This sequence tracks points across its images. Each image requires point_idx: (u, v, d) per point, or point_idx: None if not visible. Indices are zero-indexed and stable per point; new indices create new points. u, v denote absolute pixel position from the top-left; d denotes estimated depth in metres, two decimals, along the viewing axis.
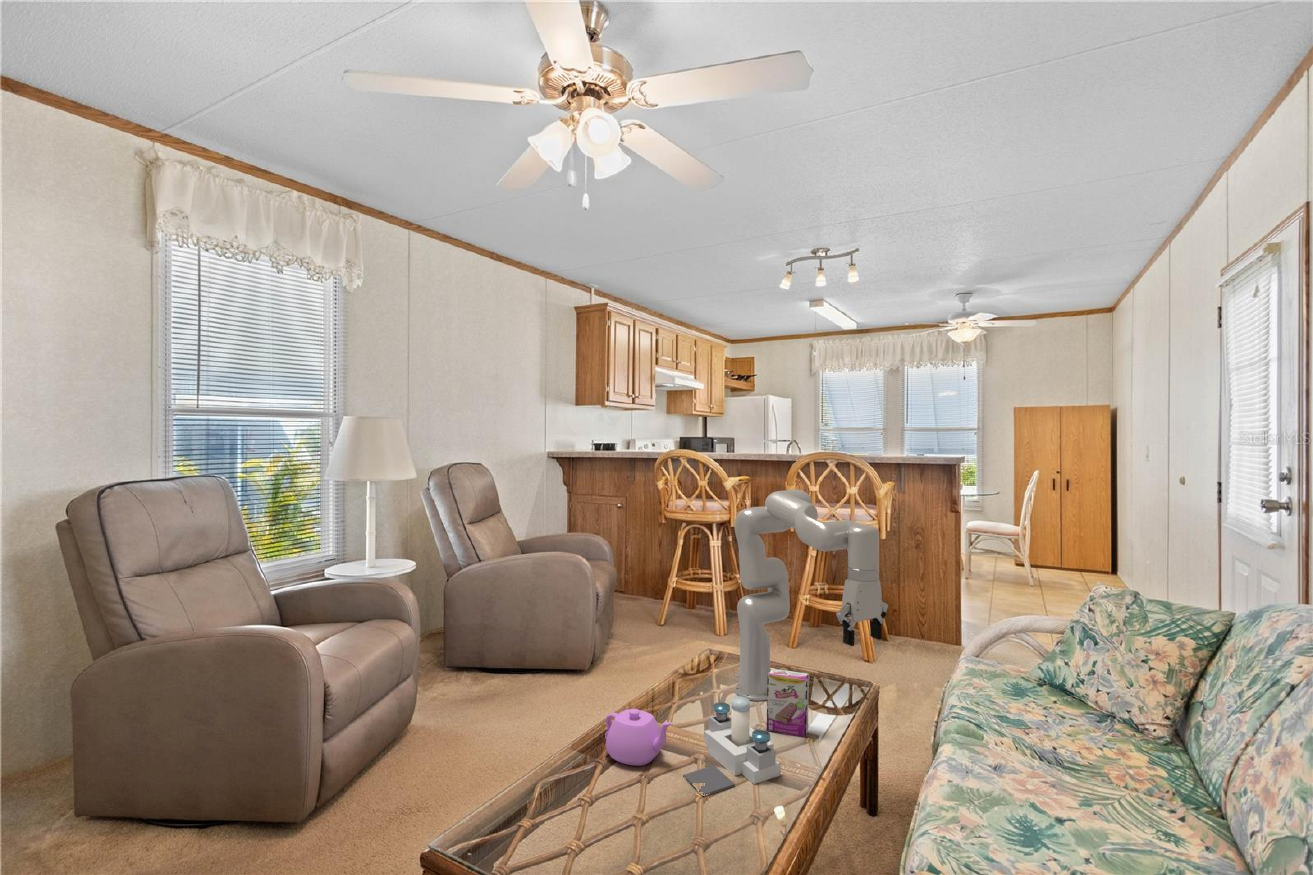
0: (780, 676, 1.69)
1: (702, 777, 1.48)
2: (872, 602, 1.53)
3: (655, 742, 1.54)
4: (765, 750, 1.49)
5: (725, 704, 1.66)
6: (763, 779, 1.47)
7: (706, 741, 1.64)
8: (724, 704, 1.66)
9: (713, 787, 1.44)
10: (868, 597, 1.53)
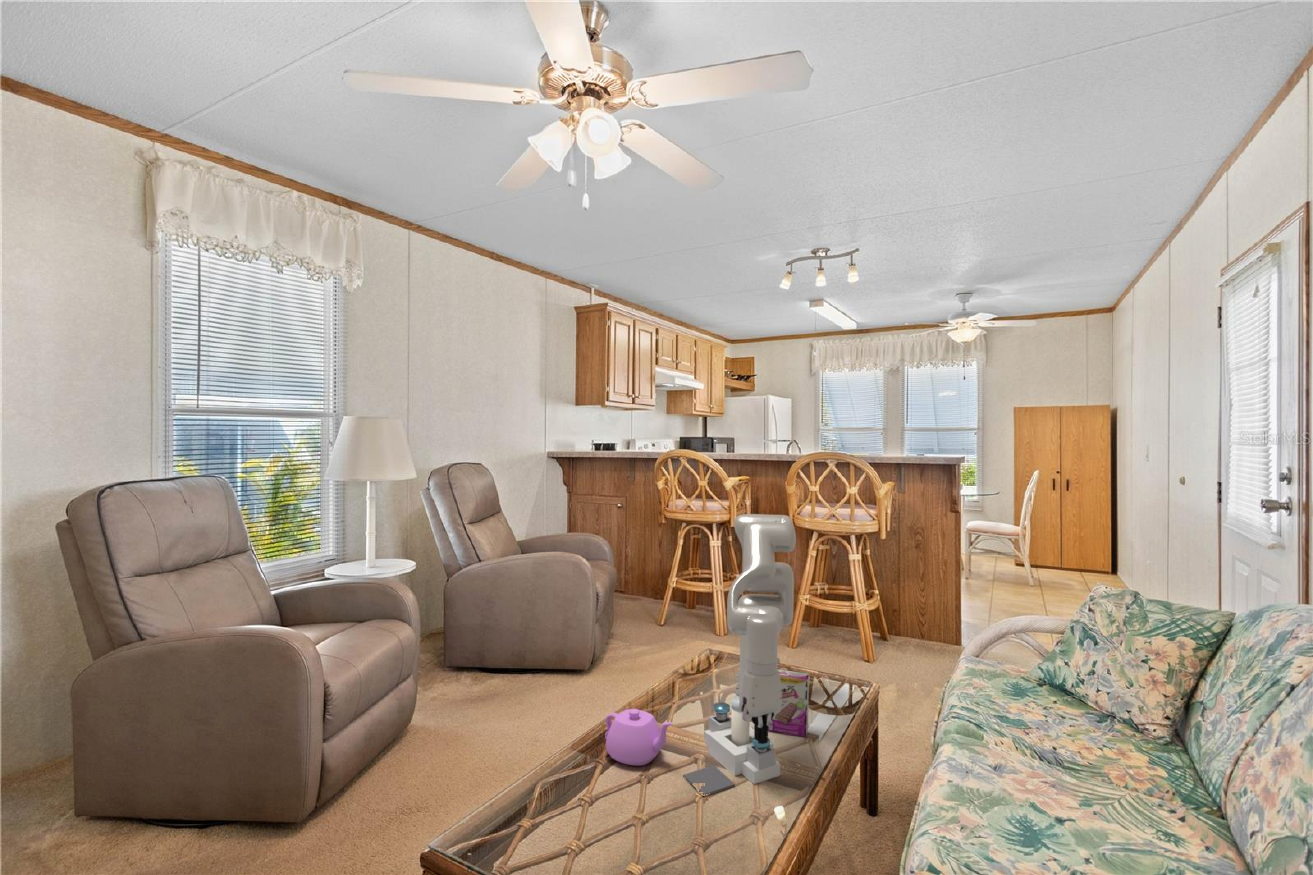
0: (780, 676, 1.69)
1: (702, 777, 1.48)
2: (770, 696, 1.48)
3: (655, 742, 1.54)
4: None
5: (725, 704, 1.66)
6: (763, 779, 1.47)
7: (706, 741, 1.64)
8: (724, 704, 1.66)
9: (713, 787, 1.44)
10: (765, 691, 1.47)
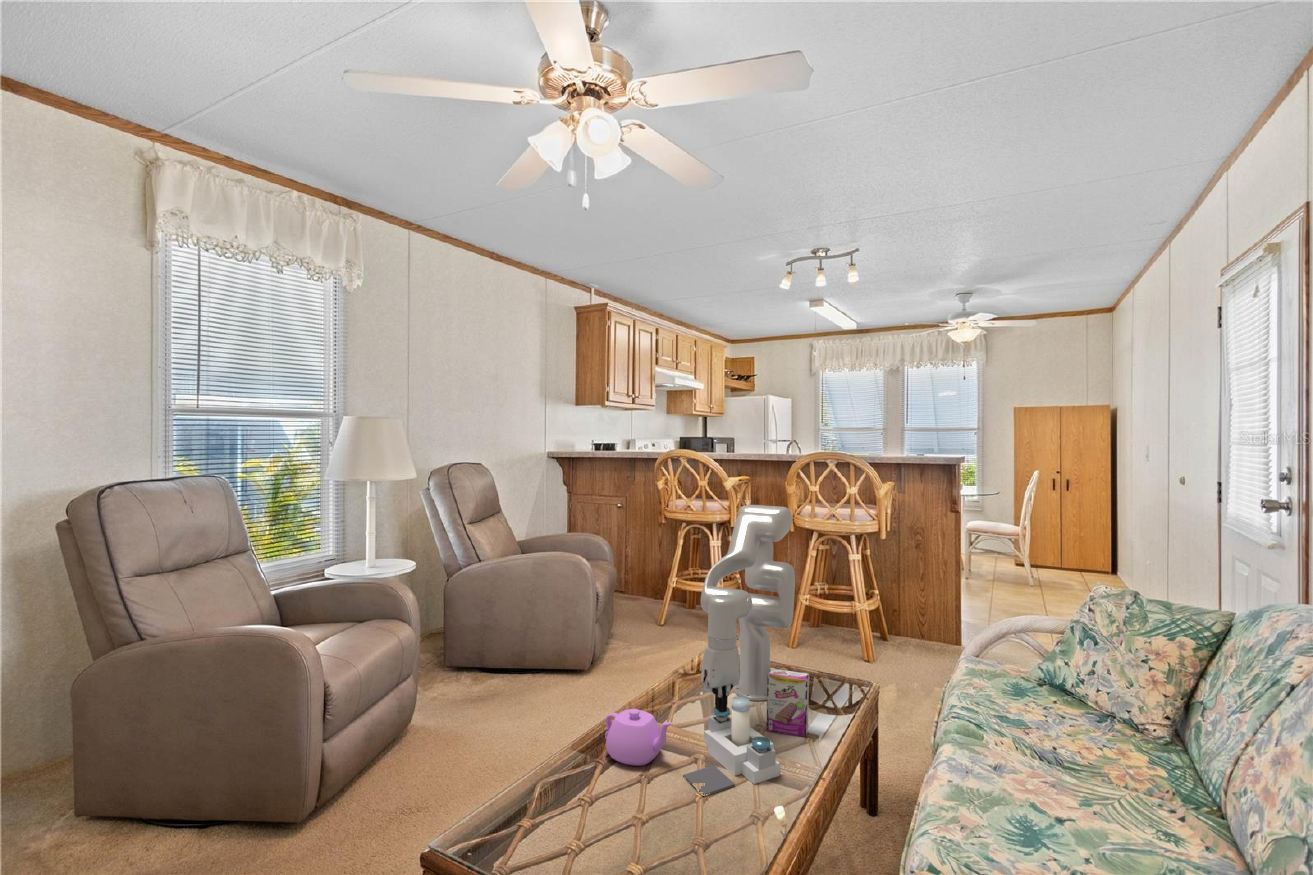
0: (780, 676, 1.69)
1: (702, 777, 1.48)
2: (729, 669, 1.62)
3: (655, 742, 1.54)
4: None
5: None
6: (763, 779, 1.47)
7: (706, 741, 1.64)
8: None
9: (713, 787, 1.44)
10: (724, 664, 1.62)
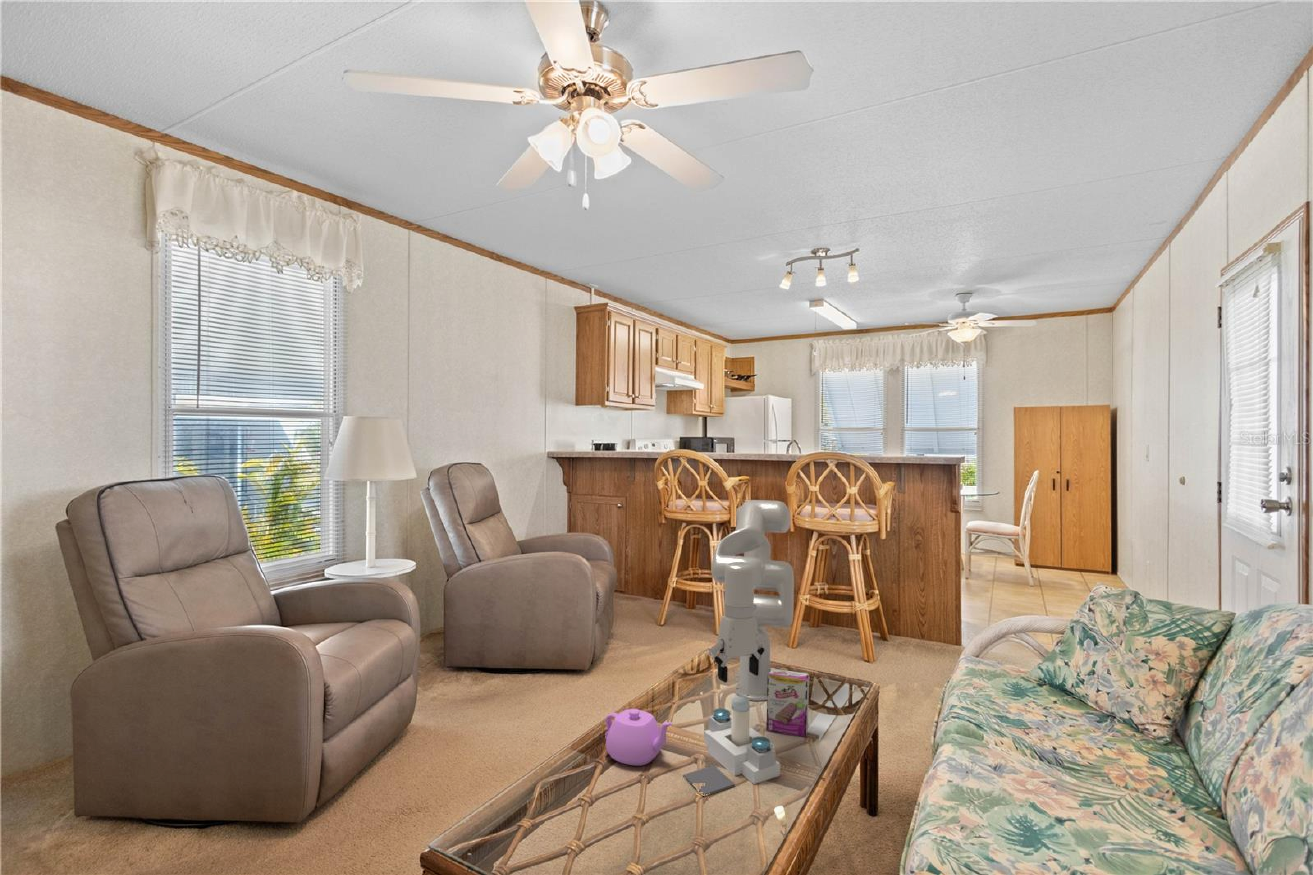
0: (780, 676, 1.69)
1: (702, 777, 1.48)
2: (746, 639, 1.56)
3: (655, 742, 1.54)
4: None
5: (725, 710, 1.66)
6: (763, 779, 1.47)
7: (706, 741, 1.64)
8: (724, 710, 1.66)
9: (713, 787, 1.44)
10: (742, 634, 1.55)
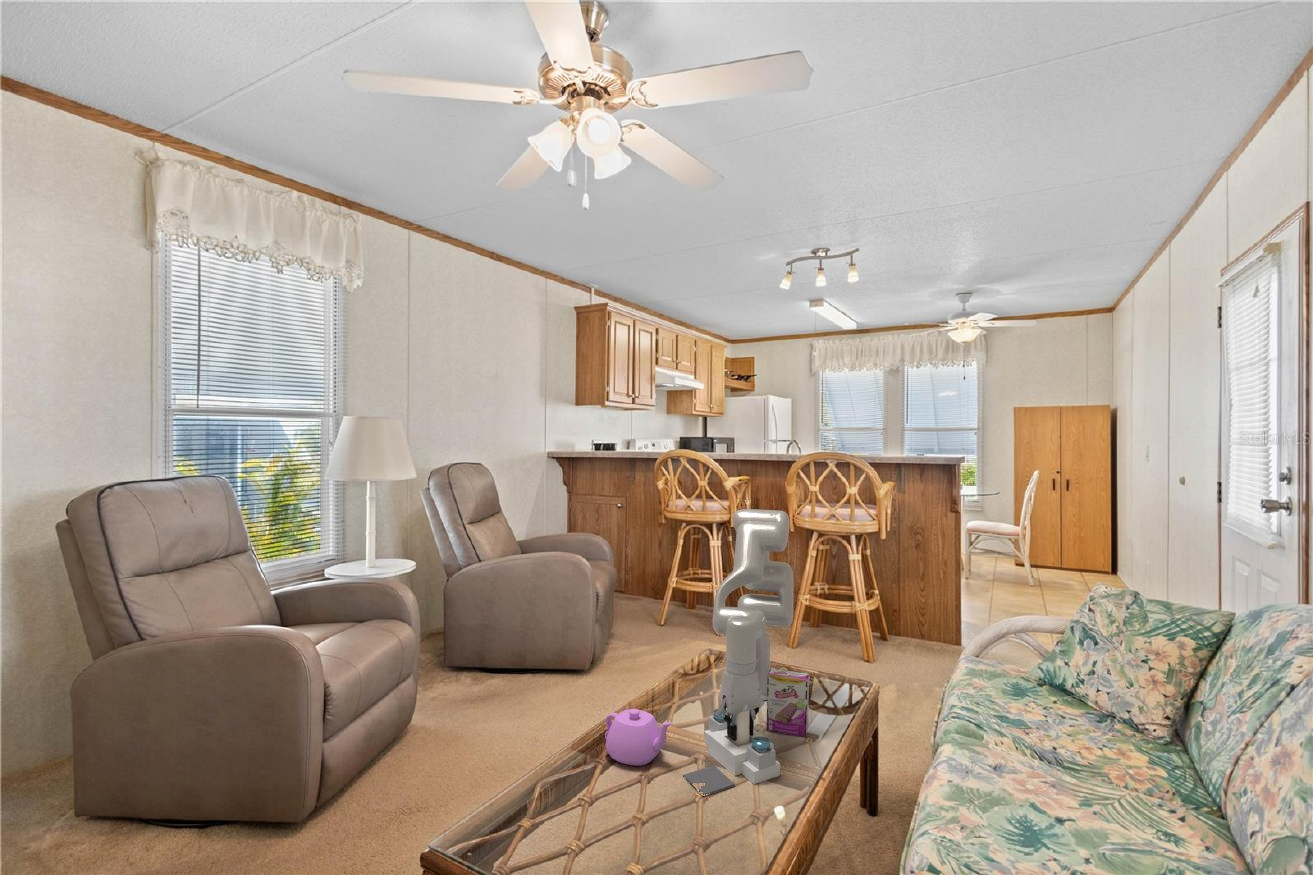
0: (780, 676, 1.69)
1: (702, 777, 1.48)
2: (748, 694, 1.55)
3: (655, 742, 1.54)
4: None
5: (725, 710, 1.66)
6: (763, 779, 1.47)
7: (706, 741, 1.64)
8: None
9: (713, 787, 1.44)
10: (744, 690, 1.54)
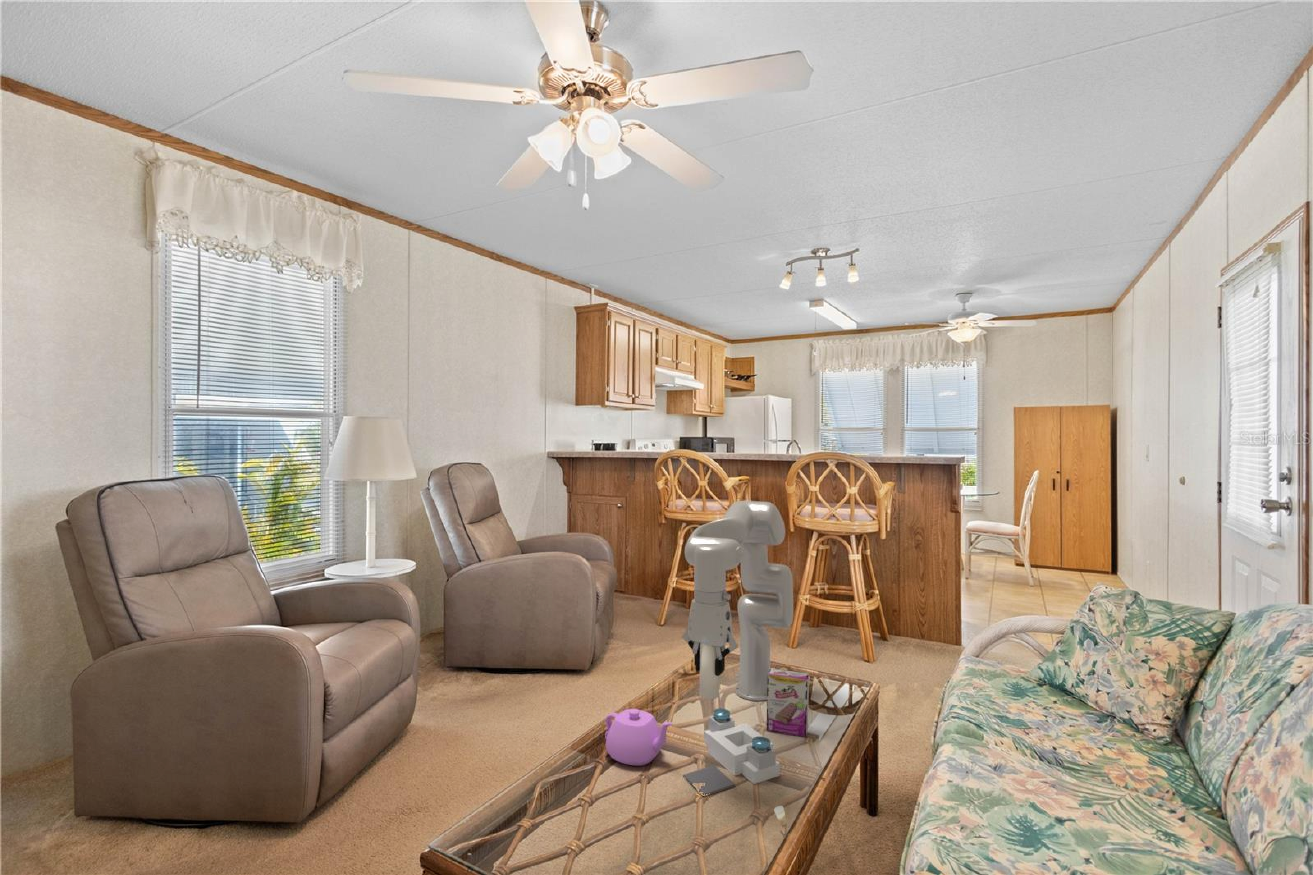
0: (780, 676, 1.69)
1: (702, 777, 1.48)
2: (707, 627, 1.44)
3: (655, 742, 1.54)
4: None
5: (725, 710, 1.66)
6: (763, 779, 1.47)
7: (706, 741, 1.64)
8: (724, 710, 1.66)
9: (713, 787, 1.44)
10: (702, 619, 1.44)
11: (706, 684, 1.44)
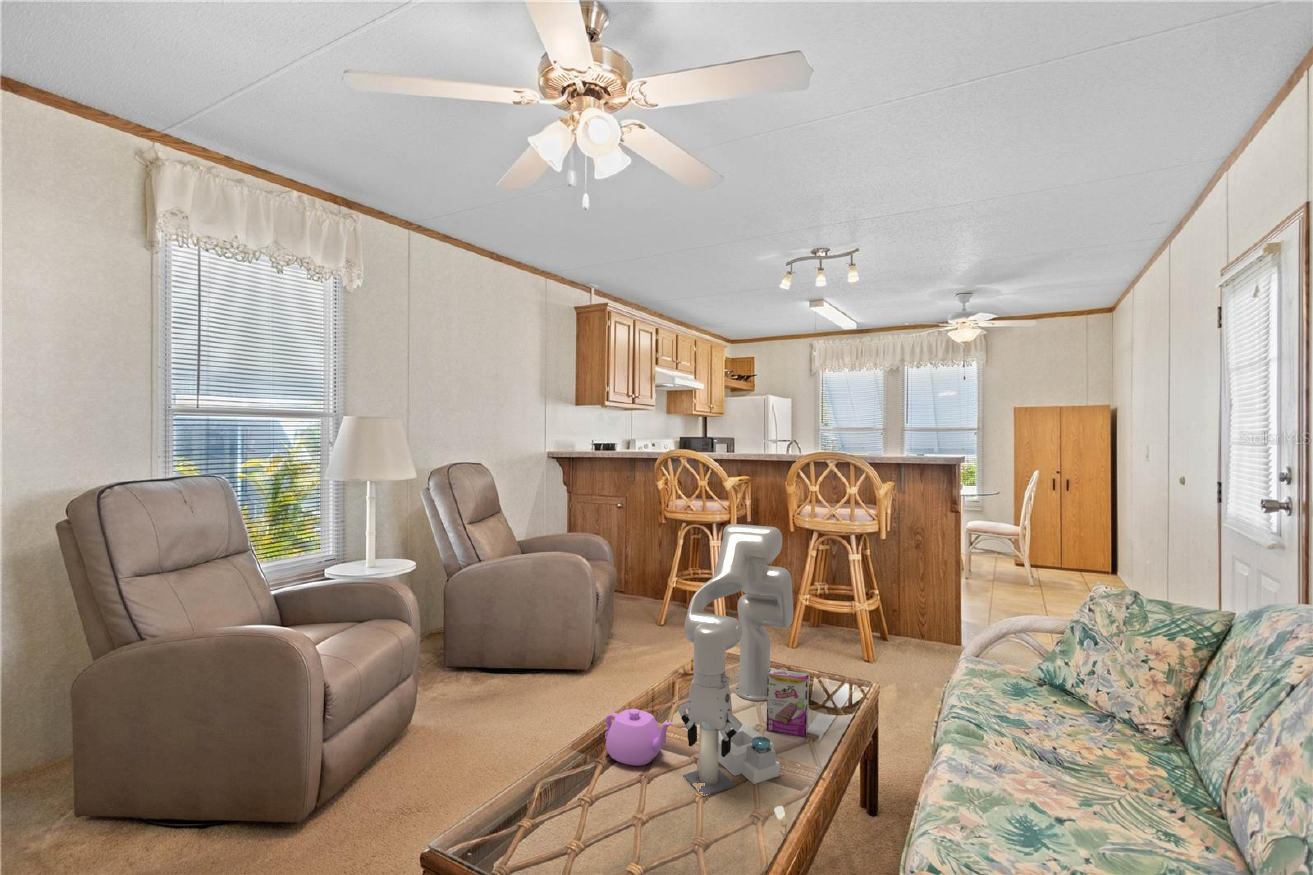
0: (780, 676, 1.69)
1: None
2: (707, 709, 1.44)
3: (655, 742, 1.54)
4: None
5: None
6: (763, 779, 1.47)
7: None
8: None
9: (713, 787, 1.44)
10: (701, 701, 1.45)
11: (706, 769, 1.45)
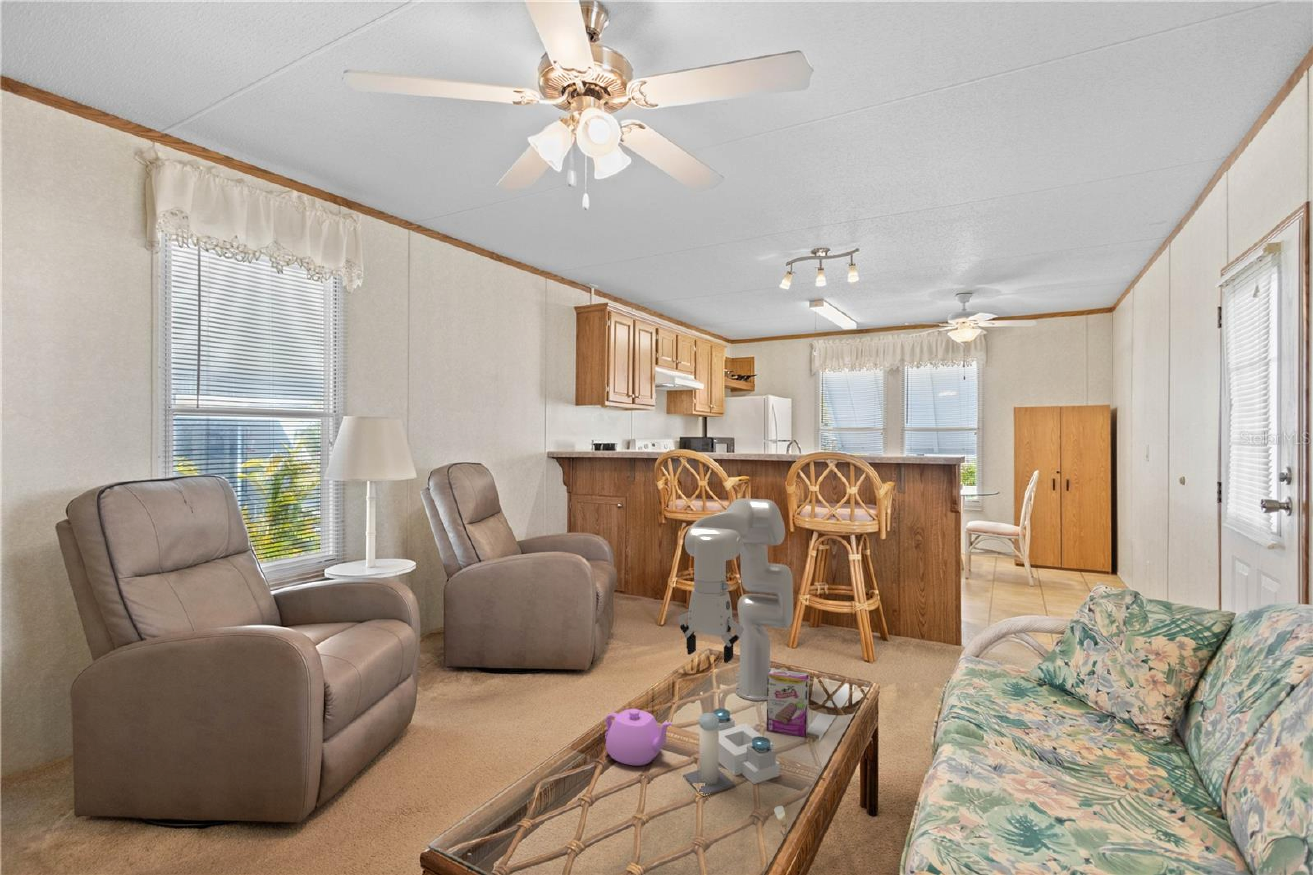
0: (780, 676, 1.69)
1: None
2: (707, 617, 1.43)
3: (655, 742, 1.54)
4: None
5: (725, 710, 1.66)
6: (763, 779, 1.47)
7: None
8: (724, 710, 1.66)
9: (713, 787, 1.44)
10: (702, 609, 1.44)
11: (706, 769, 1.45)
